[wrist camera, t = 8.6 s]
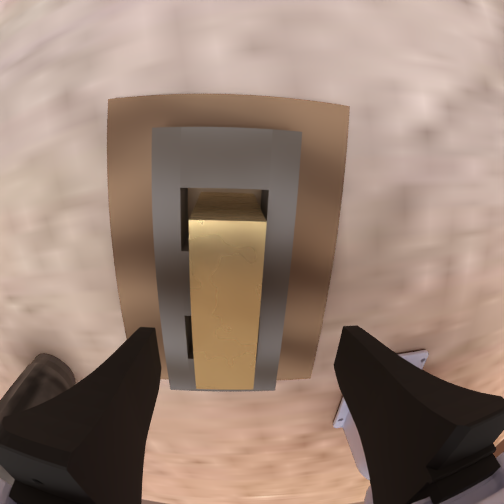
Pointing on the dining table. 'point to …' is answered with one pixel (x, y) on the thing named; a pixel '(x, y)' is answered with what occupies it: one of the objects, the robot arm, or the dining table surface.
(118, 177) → the rail board
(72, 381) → the beverage cup
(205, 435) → the dining table surface
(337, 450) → the dining table surface
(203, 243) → the pine wood offcut
